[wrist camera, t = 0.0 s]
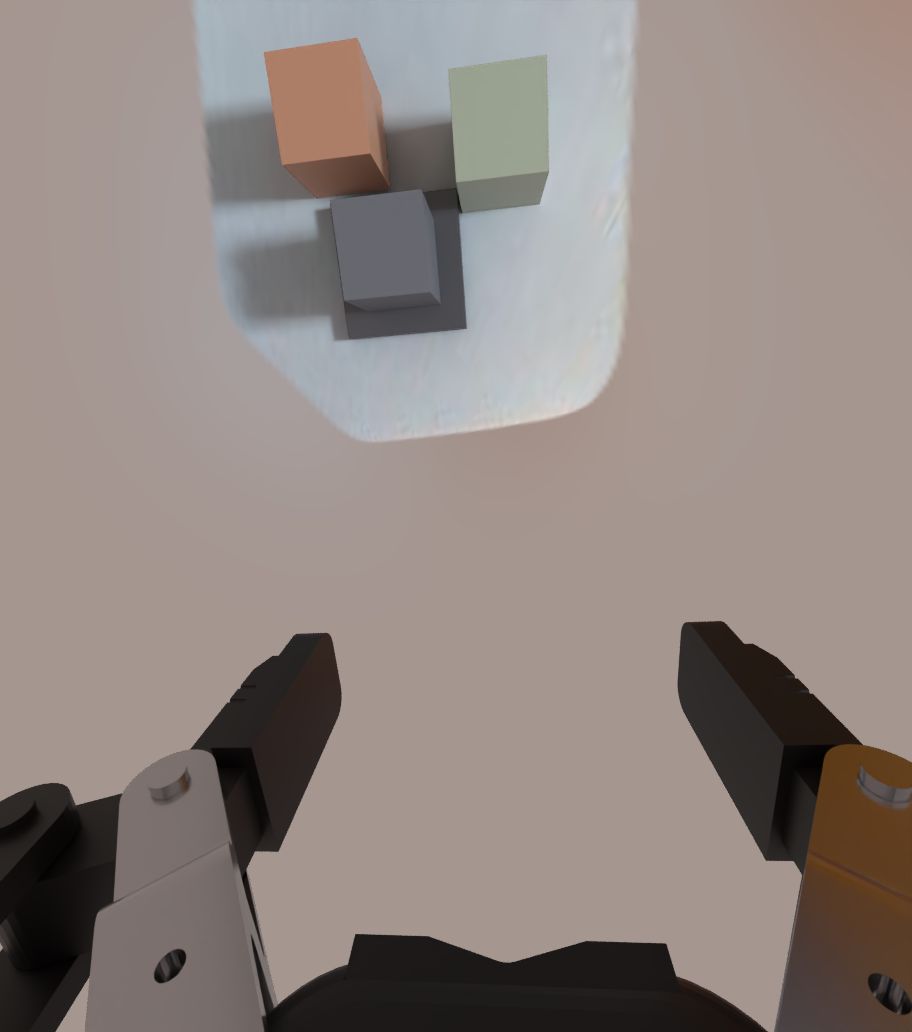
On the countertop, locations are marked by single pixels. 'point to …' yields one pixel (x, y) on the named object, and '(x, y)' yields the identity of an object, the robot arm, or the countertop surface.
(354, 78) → the brick terracotta
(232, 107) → the countertop surface
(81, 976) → the robot arm
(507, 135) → the brick sage
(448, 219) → the tower base
